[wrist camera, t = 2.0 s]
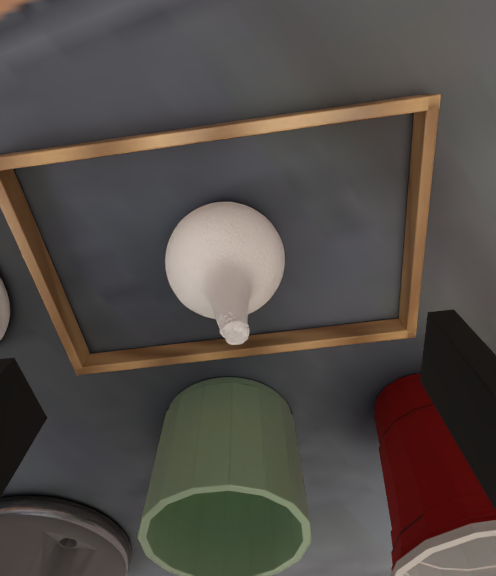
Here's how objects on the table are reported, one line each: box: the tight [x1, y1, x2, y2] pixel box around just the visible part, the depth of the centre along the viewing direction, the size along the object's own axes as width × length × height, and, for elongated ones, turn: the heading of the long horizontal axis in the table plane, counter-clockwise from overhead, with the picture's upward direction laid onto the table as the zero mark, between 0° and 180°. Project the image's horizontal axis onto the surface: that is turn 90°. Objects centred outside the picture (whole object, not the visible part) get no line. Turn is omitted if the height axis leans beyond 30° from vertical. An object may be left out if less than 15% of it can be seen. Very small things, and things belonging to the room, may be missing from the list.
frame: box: [0, 94, 441, 375], centre depth 21 cm, size 21×13×1 cm, turn 97°
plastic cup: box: [374, 374, 496, 576], centre depth 22 cm, size 11×11×12 cm
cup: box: [137, 377, 312, 576], centre depth 25 cm, size 10×10×8 cm
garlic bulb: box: [165, 202, 285, 345], centre depth 18 cm, size 6×6×8 cm
